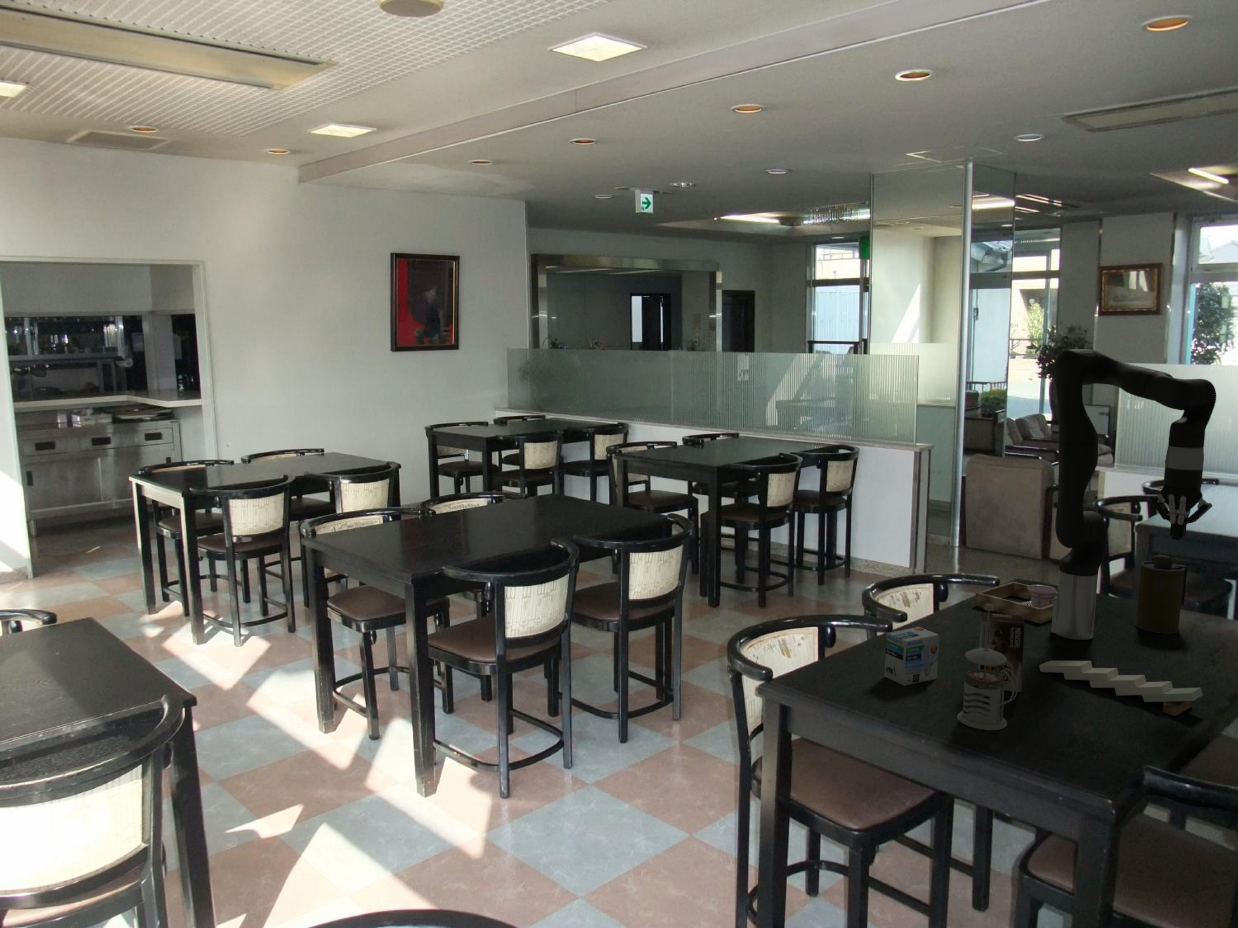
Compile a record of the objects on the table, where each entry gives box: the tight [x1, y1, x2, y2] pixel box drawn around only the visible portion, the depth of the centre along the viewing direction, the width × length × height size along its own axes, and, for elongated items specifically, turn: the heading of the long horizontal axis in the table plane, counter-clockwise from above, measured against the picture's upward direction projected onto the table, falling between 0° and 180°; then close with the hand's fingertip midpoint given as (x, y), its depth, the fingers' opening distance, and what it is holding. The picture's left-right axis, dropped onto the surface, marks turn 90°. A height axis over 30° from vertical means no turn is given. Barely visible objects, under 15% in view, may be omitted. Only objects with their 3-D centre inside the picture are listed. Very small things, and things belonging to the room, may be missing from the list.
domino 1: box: [1038, 660, 1094, 674], centre depth 218 cm, size 2×5×10 cm
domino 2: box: [1063, 667, 1119, 681], centre depth 213 cm, size 2×5×10 cm
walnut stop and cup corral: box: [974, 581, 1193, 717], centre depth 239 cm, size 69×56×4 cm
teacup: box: [1021, 584, 1057, 608], centre depth 268 cm, size 12×12×6 cm
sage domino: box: [1141, 687, 1204, 703], centre depth 199 cm, size 2×5×10 cm
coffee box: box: [977, 612, 1026, 693], centre depth 211 cm, size 9×6×16 cm
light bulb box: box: [884, 626, 940, 686], centre depth 216 cm, size 11×7×11 cm, turn 118°
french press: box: [956, 604, 1019, 731], centre depth 191 cm, size 10×12×25 cm
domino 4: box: [1114, 680, 1174, 696], centre depth 204 cm, size 2×5×10 cm
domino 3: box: [1089, 674, 1147, 689], centre depth 208 cm, size 2×5×10 cm
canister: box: [1134, 554, 1188, 635], centre depth 250 cm, size 11×10×20 cm
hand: (1177, 539), depth 216 cm, fingers closed
